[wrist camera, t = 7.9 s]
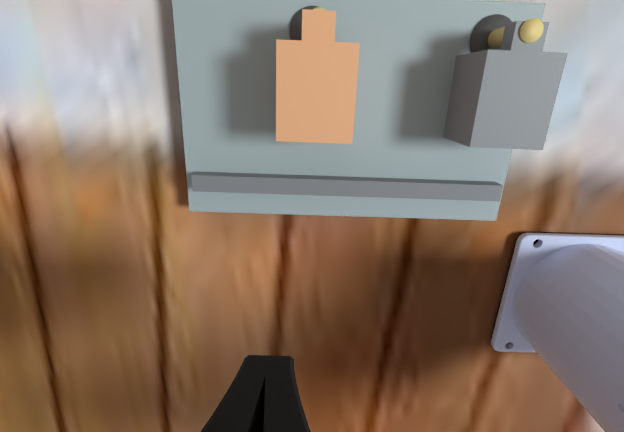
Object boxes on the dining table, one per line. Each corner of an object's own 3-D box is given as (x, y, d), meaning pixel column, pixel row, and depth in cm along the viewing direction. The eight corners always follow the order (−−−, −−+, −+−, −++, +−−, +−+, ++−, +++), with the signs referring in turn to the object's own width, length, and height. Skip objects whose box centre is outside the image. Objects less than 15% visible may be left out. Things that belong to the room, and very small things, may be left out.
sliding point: (352, 22, 15) (362, 8, 12) (344, 134, 17) (352, 144, 14) (281, 19, 15) (276, 4, 12) (280, 131, 17) (275, 141, 14)
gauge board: (529, 9, 17) (598, -16, 13) (485, 212, 20) (529, 244, 16) (179, -7, 16) (138, -37, 12) (196, 203, 20) (168, 233, 16)
